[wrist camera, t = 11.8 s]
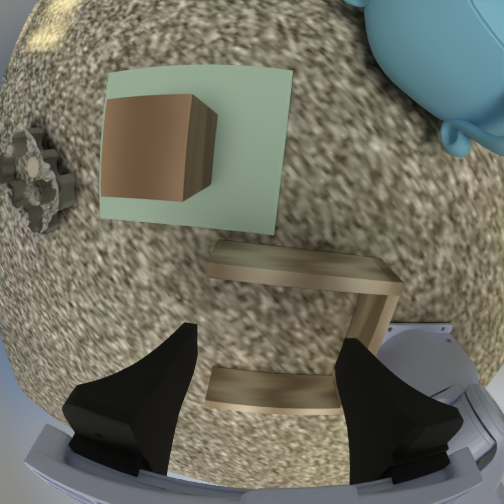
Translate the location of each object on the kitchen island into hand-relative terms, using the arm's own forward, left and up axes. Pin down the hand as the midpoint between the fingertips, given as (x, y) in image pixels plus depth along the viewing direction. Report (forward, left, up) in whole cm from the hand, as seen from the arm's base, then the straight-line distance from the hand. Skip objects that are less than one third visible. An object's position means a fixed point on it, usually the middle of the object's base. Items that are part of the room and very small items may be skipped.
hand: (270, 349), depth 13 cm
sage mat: (+7, -9, -9) cm, 15 cm away
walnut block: (+7, -9, -9) cm, 14 cm away
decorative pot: (-12, -21, -10) cm, 26 cm away
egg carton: (+22, -7, -10) cm, 25 cm away
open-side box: (-2, +5, -9) cm, 11 cm away
